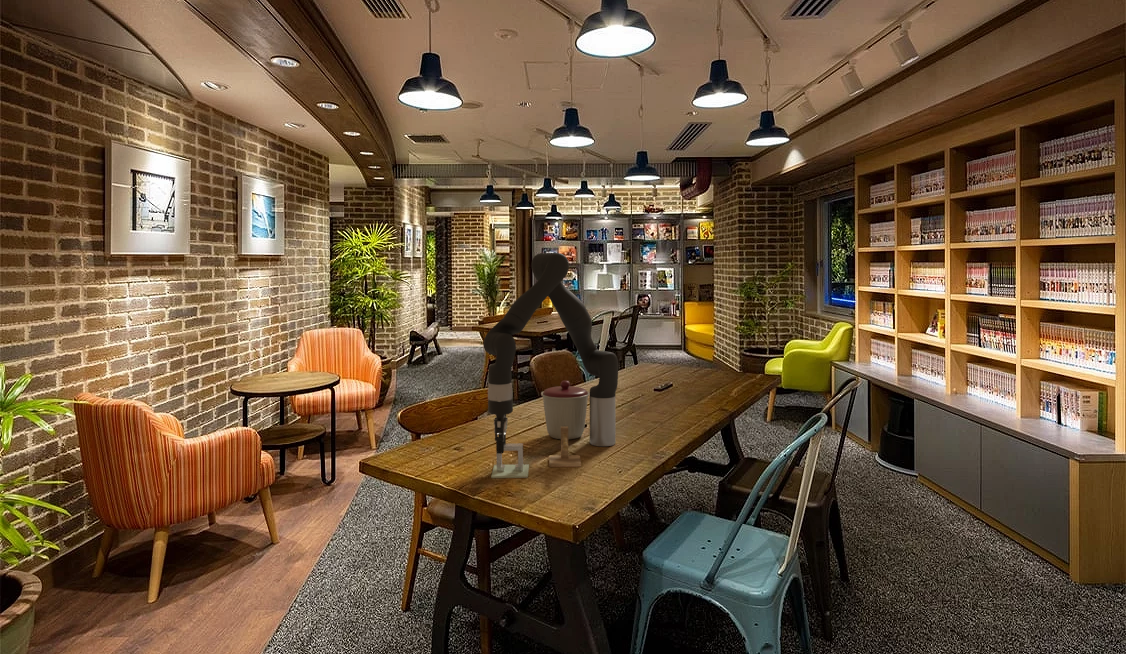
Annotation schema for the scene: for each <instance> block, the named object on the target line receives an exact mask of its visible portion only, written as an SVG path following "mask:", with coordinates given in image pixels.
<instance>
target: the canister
mask: <svg viewBox="0 0 1126 654" xmlns="http://www.w3.org/2000/svg"><path fill="white" fill-rule="evenodd" d="M559 385H560V386H552V387H549V388H546V389H544V391H541V393H540V395H541V397H542V400H543V409H544V418H545V425H546V431H547V434H548V435H549V437H551V438H553V439H555V440H561V427H568V440H575V439H578V438H580V437H582V436H583V434H584V431H585V427H586V426H585V425H586V418H587V408H588V398H589V397H590V391H588V390H587V389H586V388H583V387H579V386H574V385H573V386H572V385H571V383H570V381H569V380H561V382H560V384H559Z"/></svg>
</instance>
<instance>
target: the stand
mask: <svg viewBox="0 0 1126 654" xmlns="http://www.w3.org/2000/svg"><path fill="white" fill-rule="evenodd" d="M569 448H570V447H569V439H568V427H561V439H560V454H555V455H549V457H548V458H549V464H548V465H549V468H555V467H557V468H559V467H560V468H561V467H562V468H564V467H567V468H569V467H571V468H572V467H573V468H574V467H575V468H576V467H577V468H578V467H582V462H581V461H582V460H581V456H580V454H569Z"/></svg>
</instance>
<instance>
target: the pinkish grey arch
mask: <svg viewBox="0 0 1126 654" xmlns="http://www.w3.org/2000/svg"><path fill="white" fill-rule="evenodd" d="M507 451H509V452H513V451H514V452H515V451H517V456H518V457H517V463H516V464H515V465H516V466H515V472H523V464H524V443H520V442H519V443H510V442H509V443H506V444H504V452H507ZM495 452H496V451H495ZM495 454H496V456H495V457H496V465H497V472H504V471H505V465H506V464H505V463H503V453H502V454H498V453H497V452H496V453H495Z"/></svg>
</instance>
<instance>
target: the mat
mask: <svg viewBox="0 0 1126 654" xmlns="http://www.w3.org/2000/svg"><path fill="white" fill-rule="evenodd" d="M515 466H516V464H505V471H504V472H497V464H494V465H493V469H492V473H491V475H490V476H491V477H490V478H491V479H515V478H516V479H519V478H520V479H522V478H527V479H528V477H529V469H530V464H524V463H523V472H515Z"/></svg>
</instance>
